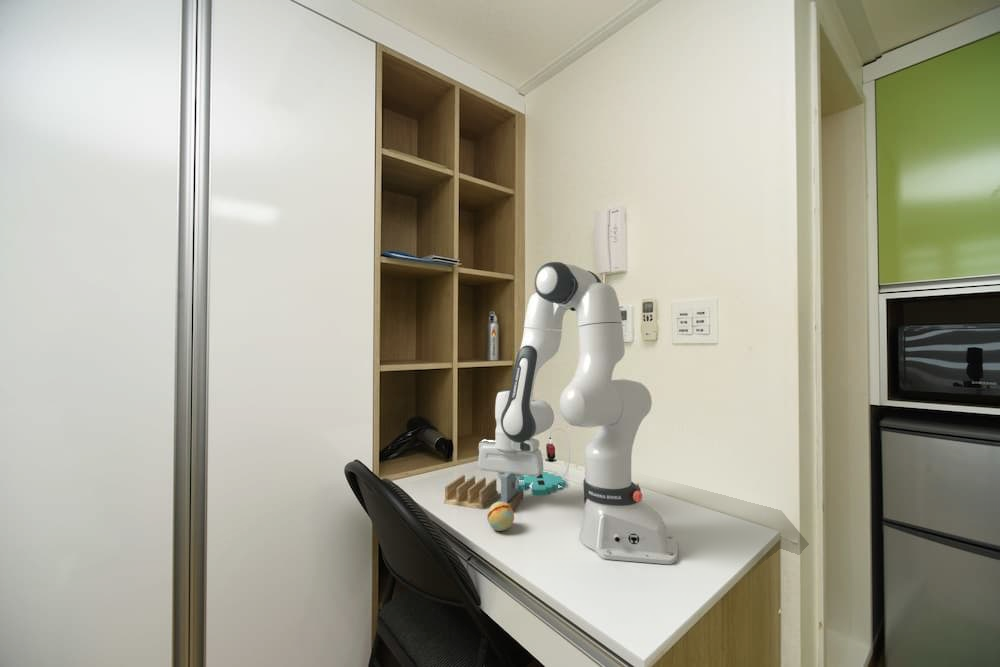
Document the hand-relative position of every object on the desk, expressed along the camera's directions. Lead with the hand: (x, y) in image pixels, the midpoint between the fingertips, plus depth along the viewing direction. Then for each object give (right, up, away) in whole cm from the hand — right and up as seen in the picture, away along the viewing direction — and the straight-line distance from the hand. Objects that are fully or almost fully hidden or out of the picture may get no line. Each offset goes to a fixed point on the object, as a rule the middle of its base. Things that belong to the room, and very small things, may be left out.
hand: (510, 487), depth 116 cm
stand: (0, -5, 0) cm, 5 cm away
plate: (0, -5, 0) cm, 5 cm away
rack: (-12, -5, +4) cm, 14 cm away
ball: (-3, -5, -16) cm, 17 cm away
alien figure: (+9, -6, +17) cm, 20 cm away
